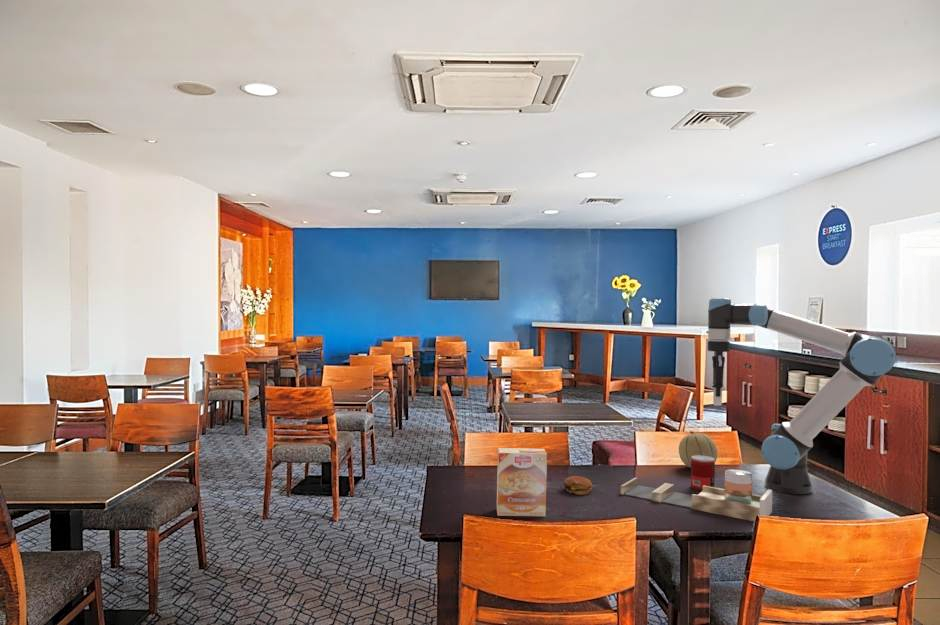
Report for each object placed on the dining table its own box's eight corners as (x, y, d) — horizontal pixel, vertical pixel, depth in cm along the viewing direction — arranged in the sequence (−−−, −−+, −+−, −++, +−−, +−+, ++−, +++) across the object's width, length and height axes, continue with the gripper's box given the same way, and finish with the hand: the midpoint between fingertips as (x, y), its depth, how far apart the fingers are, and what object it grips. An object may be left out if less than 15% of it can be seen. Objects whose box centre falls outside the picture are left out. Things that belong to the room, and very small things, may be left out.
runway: (620, 494, 213) (620, 481, 213) (634, 485, 224) (635, 473, 224) (759, 522, 187) (759, 507, 187) (767, 510, 198) (768, 496, 198)
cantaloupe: (716, 476, 238) (716, 437, 238) (676, 471, 244) (676, 433, 244) (718, 467, 252) (719, 430, 251) (680, 463, 258) (681, 427, 258)
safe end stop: (721, 514, 193) (721, 492, 193) (731, 504, 204) (731, 482, 204) (763, 523, 186) (764, 500, 186) (771, 511, 197) (772, 489, 197)
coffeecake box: (497, 516, 189) (498, 452, 188) (496, 508, 196) (497, 447, 195) (546, 517, 189) (547, 453, 188) (543, 509, 196) (544, 447, 196)
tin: (743, 496, 202) (744, 469, 202) (756, 504, 194) (757, 476, 194) (719, 496, 202) (720, 469, 202) (731, 504, 194) (732, 476, 194)
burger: (587, 487, 221) (588, 474, 221) (595, 495, 212) (595, 481, 212) (560, 487, 220) (561, 474, 220) (567, 495, 211) (567, 482, 211)
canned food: (716, 492, 217) (716, 461, 217) (692, 490, 219) (692, 459, 219) (712, 486, 225) (712, 455, 225) (689, 484, 226) (689, 454, 226)
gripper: (706, 339, 232) (704, 402, 232) (709, 341, 219) (708, 407, 220) (727, 339, 230) (726, 403, 230) (732, 341, 217) (730, 408, 218)
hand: (717, 405), depth 225 cm, fingers closed
